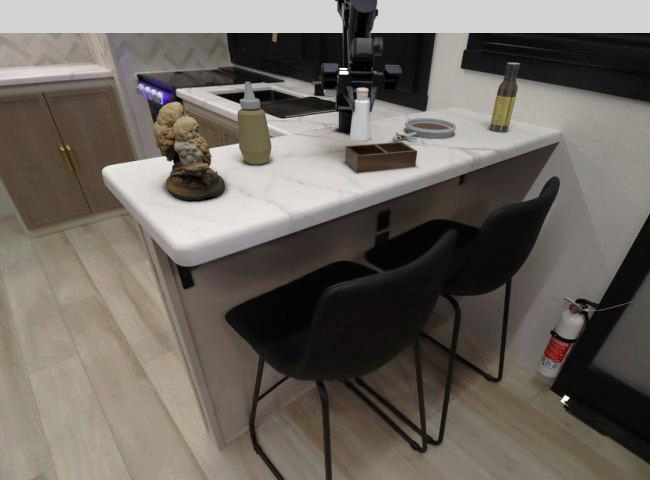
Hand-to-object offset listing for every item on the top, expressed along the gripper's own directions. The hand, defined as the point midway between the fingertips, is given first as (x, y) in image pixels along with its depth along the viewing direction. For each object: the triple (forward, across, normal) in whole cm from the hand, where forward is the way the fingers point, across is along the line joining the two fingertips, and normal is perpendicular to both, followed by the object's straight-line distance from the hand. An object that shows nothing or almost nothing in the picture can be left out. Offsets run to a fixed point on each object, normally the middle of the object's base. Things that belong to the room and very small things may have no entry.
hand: (362, 110), depth 88 cm
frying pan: (-12, +23, +32) cm, 41 cm away
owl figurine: (+19, -37, 0) cm, 42 cm away
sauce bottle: (-18, +53, +37) cm, 67 cm away
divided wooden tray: (+8, +6, +11) cm, 15 cm away
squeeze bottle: (+6, -26, +13) cm, 30 cm away
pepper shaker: (+4, 0, +6) cm, 7 cm away
